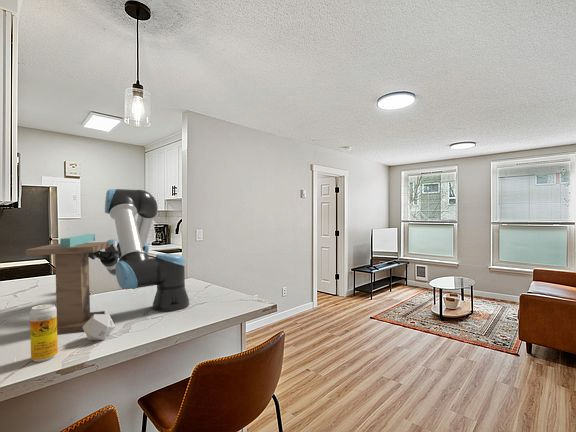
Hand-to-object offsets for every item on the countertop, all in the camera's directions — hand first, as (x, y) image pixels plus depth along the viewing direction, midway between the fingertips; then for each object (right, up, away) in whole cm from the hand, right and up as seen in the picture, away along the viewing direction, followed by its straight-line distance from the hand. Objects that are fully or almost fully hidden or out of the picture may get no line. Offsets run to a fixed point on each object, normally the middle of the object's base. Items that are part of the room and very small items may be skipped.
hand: (97, 243), depth 144 cm
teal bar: (+6, +2, -21) cm, 22 cm away
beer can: (+18, -29, -54) cm, 64 cm away
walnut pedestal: (+8, -28, -28) cm, 40 cm away
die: (+25, -28, -40) cm, 56 cm away
